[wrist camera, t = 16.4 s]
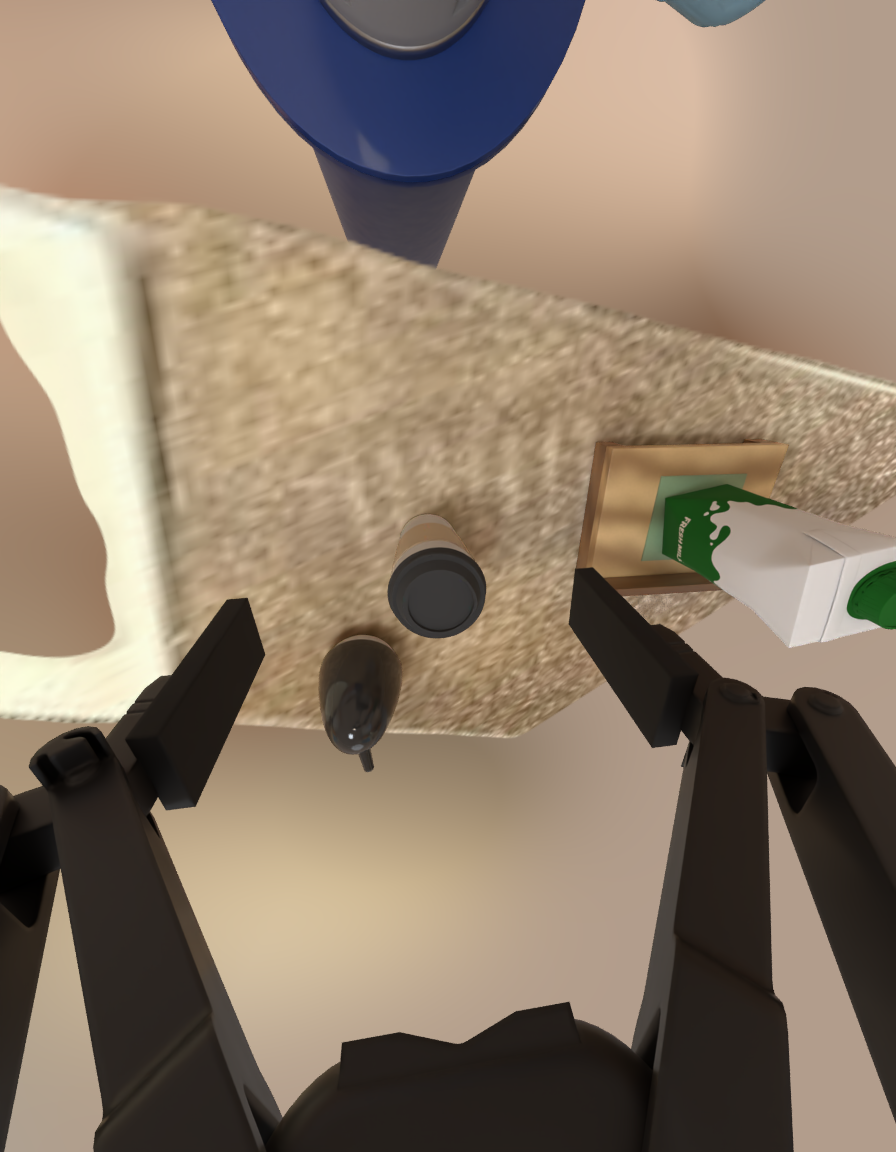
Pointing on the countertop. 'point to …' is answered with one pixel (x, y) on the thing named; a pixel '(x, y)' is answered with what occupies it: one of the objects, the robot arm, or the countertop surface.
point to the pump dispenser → (359, 694)
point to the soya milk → (785, 563)
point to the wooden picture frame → (660, 506)
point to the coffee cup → (435, 580)
